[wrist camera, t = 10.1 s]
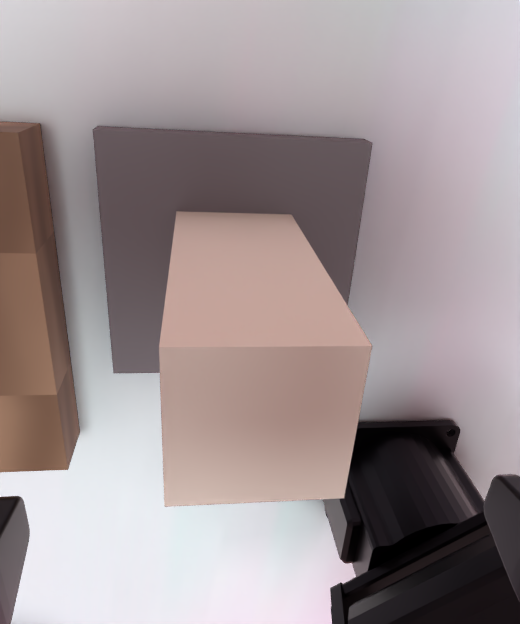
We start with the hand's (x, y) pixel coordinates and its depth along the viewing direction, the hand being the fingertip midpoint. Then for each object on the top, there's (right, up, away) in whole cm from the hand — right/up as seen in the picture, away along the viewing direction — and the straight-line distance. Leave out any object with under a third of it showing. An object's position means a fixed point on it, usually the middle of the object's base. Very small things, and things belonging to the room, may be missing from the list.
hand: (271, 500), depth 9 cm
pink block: (-1, +5, +11) cm, 12 cm away
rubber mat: (-1, +6, +11) cm, 13 cm away
